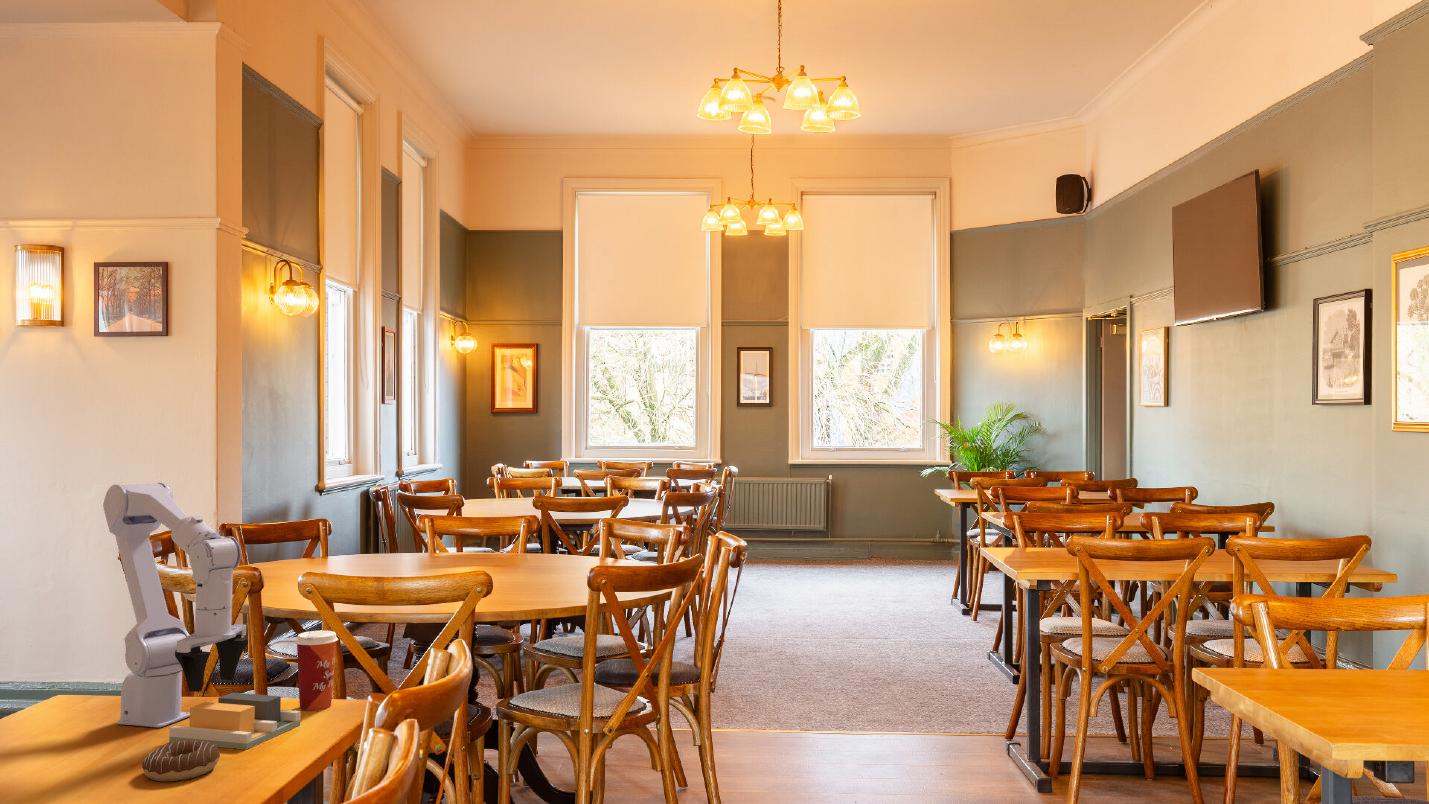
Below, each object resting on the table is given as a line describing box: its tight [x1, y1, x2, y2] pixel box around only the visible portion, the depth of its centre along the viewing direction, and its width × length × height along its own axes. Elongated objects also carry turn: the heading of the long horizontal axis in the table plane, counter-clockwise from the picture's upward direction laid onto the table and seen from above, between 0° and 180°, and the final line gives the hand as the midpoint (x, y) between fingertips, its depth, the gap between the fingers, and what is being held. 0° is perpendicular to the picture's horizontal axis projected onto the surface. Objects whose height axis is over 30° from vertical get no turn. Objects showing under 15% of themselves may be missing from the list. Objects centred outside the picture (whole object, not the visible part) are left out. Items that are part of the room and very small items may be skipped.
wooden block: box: [188, 701, 255, 733], centre depth 168 cm, size 10×4×4 cm, turn 77°
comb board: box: [168, 709, 301, 750], centre depth 171 cm, size 15×14×2 cm
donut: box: [141, 741, 221, 782], centre depth 152 cm, size 11×11×4 cm
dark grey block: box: [217, 692, 282, 723], centre depth 174 cm, size 10×4×4 cm, turn 77°
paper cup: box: [294, 629, 339, 712], centre depth 188 cm, size 8×8×14 cm
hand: (211, 685), depth 171 cm, fingers open, 7 cm apart
